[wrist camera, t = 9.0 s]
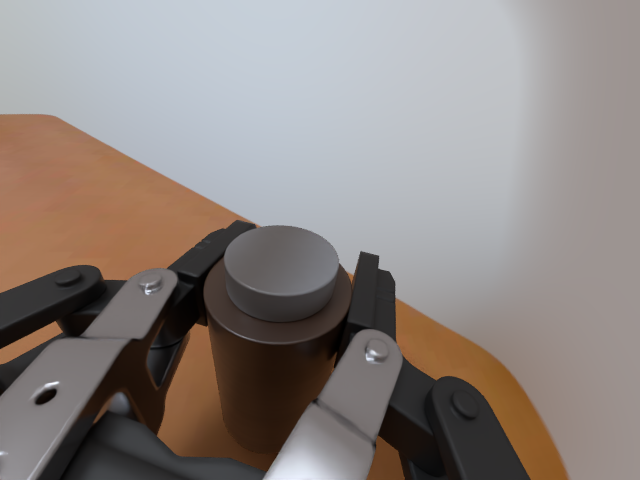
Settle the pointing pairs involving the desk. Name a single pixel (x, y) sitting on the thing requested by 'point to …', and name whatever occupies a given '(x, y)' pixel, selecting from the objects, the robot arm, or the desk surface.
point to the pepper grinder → (274, 329)
